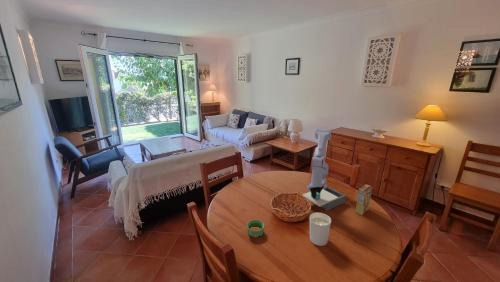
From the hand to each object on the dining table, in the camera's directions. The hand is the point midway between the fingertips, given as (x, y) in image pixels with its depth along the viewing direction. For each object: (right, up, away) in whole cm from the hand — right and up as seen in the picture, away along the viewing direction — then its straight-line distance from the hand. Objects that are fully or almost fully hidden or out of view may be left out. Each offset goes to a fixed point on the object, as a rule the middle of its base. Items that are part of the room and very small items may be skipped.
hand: (315, 196), depth 130 cm
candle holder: (-6, -15, -25) cm, 29 cm away
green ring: (-37, -14, -19) cm, 43 cm away
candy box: (+27, -8, -3) cm, 28 cm away
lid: (+3, -1, +2) cm, 4 cm away
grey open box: (+10, -5, +7) cm, 13 cm away
